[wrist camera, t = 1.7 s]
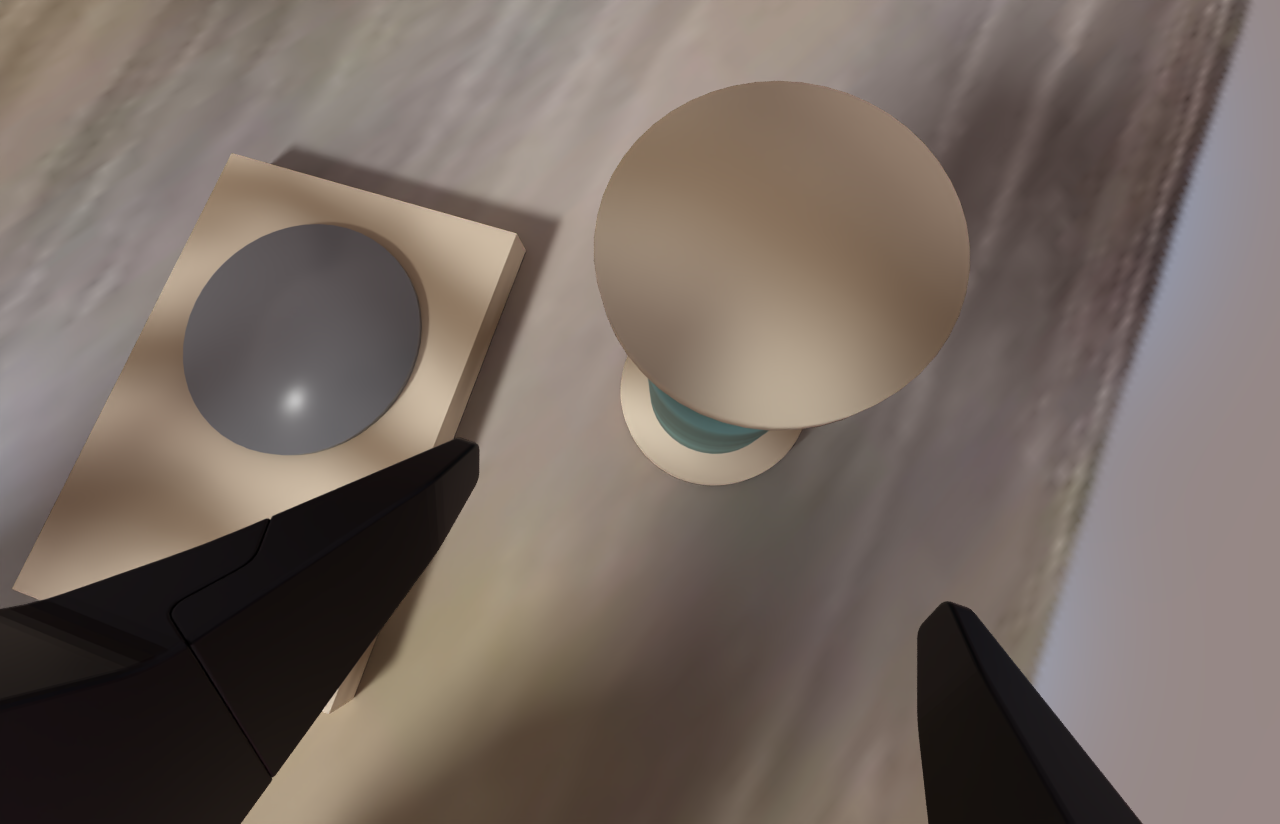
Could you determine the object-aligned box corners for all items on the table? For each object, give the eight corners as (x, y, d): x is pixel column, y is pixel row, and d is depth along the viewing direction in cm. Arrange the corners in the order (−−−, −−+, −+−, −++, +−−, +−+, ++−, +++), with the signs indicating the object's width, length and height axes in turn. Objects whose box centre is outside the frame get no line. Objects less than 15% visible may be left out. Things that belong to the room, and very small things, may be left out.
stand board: (353, 698, 20) (323, 717, 19) (56, 583, 22) (2, 590, 20) (525, 250, 23) (514, 229, 22) (257, 174, 25) (226, 148, 23)
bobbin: (774, 509, 21) (948, 516, 8) (599, 453, 22) (506, 379, 9) (821, 339, 22) (1037, 112, 9) (653, 291, 23) (640, 20, 10)
